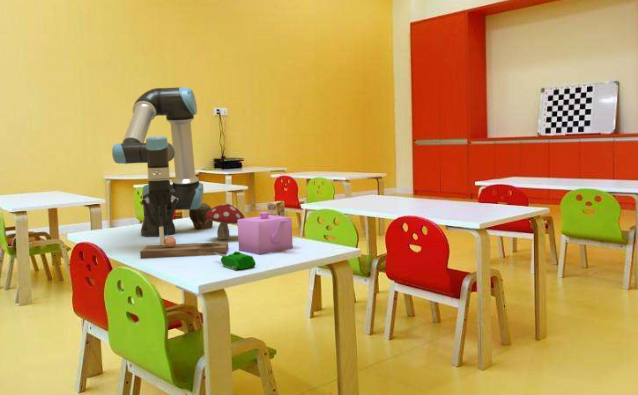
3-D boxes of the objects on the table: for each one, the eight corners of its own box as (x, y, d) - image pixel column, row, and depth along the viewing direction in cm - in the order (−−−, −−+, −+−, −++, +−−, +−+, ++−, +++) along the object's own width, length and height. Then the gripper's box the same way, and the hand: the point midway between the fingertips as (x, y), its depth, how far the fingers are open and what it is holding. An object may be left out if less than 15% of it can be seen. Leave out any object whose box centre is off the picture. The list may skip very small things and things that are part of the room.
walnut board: (147, 252, 216) (147, 245, 215) (228, 248, 218) (228, 241, 218) (140, 258, 204) (140, 251, 204) (226, 254, 206) (225, 247, 206)
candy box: (278, 241, 230) (276, 203, 229) (268, 241, 231) (267, 203, 230) (286, 237, 238) (284, 200, 237) (276, 237, 240) (275, 200, 238)
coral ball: (164, 244, 212) (167, 234, 212) (175, 247, 213) (177, 237, 212) (162, 246, 208) (165, 236, 208) (173, 249, 209) (176, 238, 208)
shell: (191, 227, 278) (190, 202, 277) (214, 226, 279) (213, 201, 278) (188, 230, 268) (187, 204, 266) (212, 229, 269) (211, 203, 267)
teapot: (271, 257, 198) (270, 217, 197) (231, 249, 217) (229, 212, 216) (305, 251, 208) (303, 212, 207) (264, 243, 227) (262, 208, 226)
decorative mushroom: (243, 235, 248) (241, 200, 246) (248, 241, 232) (246, 204, 231) (205, 238, 244) (203, 203, 242) (208, 244, 228) (206, 206, 227)
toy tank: (227, 259, 198) (226, 245, 198) (256, 268, 183) (255, 252, 182) (209, 262, 194) (208, 248, 193) (237, 271, 179) (236, 255, 178)
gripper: (138, 180, 203) (142, 246, 206) (175, 179, 204) (179, 245, 207) (142, 179, 211) (146, 243, 213) (179, 178, 212) (182, 241, 214)
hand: (162, 244), depth 210 cm, fingers closed
